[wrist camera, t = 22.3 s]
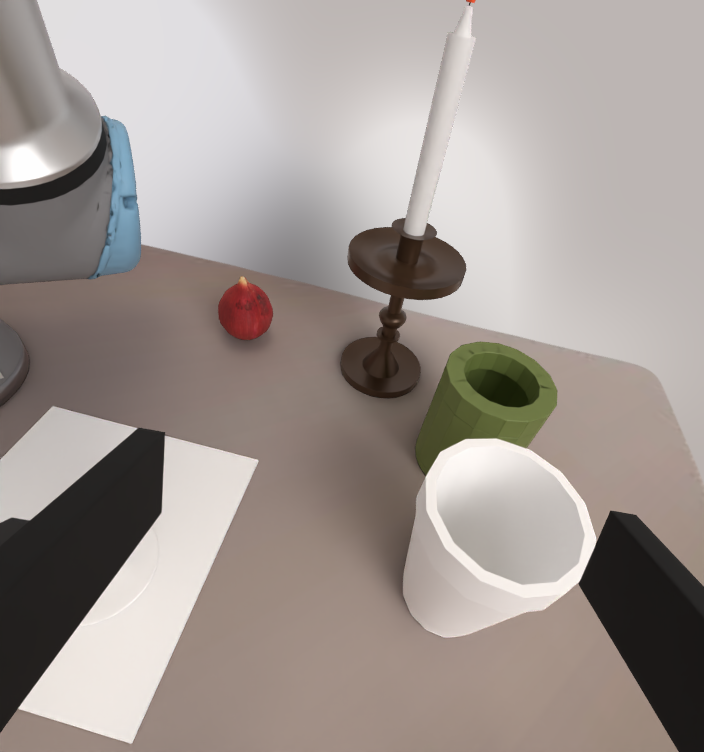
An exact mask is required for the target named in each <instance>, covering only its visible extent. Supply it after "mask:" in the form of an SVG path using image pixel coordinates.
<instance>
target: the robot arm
mask: <svg viewBox="0 0 704 752" xmlns="http://www.w3.org/2000/svg"><path fill="white" fill-rule="evenodd" d="M136 201H137V195H136V181H135V173H134V166H133V159H132V153H131V148H130V142H129V137H128V133H127V130H126V128H125V126H124V125H123V124H122V123H121V122H119V121H117V120H113V119H110V118H108V117H107V116H100V113H99V110H98V107H97V105H96V103H95V101H94V99H93V97H92V96H91V94H90V93H89V92H88V90H87V89H86V88H85V87H84V86H83V85H82V84H81V83H80V82H79V81H78V80H76V79H75V78H74V77H72V76H71V75H70V74H68V73H67V72H65V71H64V70H62V69H60V68H59V66H58V63H57V60H56V57H55V54H54V51H53V48H52V45H51V42H50V39H49V36H48V33H47V30H46V27H45V24H44V21H43V18H42V15H41V12H40V9H39V6H38V3H37V0H0V285H4V284H18V283H31V282H45V281H59V280H73V279H96V278H98V277H99V276H102V275H109V274H117V273H124V272H128V271H130V270H132V269H133V268H135V267H136V265H137V264H138V262H139V260H140V257H141V232H140V220H139V210H138V204H137V202H136ZM28 369H29V356H28V353H27V350H26V349H25V347H24V345H23V343H22V341H21V339H20V337H19V336H18V334H17V333H16V332H15V331H14V330H13V329H12V328H11V327H10V326H8V325H7V324H6V323H5V322H4V321H2V320H1V319H0V406H1V405H3V404H4V403H5V402H6V401H7V400H8V399H9V398H10V397H11V396H12V395H13V394H14V393H15V392H16V391H17V390H18V389H19V387H20V386H21V384H22V383H23V381H24V379H25V377H26V375H27V372H28ZM164 448H165V432H160V431H154V430H148V429H143V428H138V429H136V430H135V431H134V432H133V433H132V434H131V435H129V436H128V437H127V438H126V439H125V440H124V441H122V442H121V443H120V444H119V445H118V446H117V447H115V448H114V449H113V450H112V451H111V452H110V453H108V454H107V455H106V456H105V457H104V458H103V459H101V460H100V461H99V462H98V463H97V464H96V465H94V466H93V467H92V468H91V469H90V470H88V471H87V472H86V473H85V474H84V475H83V476H81V477H80V478H79V479H78V480H77V481H76V482H74V483H73V484H72V485H71V486H70V487H69V488H67V489H66V490H65V491H64V492H63V493H62V494H60V495H59V496H58V497H57V498H56V499H55V500H53V501H52V502H51V503H50V504H49V505H48V506H46V507H45V508H44V509H43V510H42V511H40V512H39V513H38V514H37V515H36V516H35V517H33V518H32V519H31V520H24V519H18V518H12V517H11V518H9V519H7V520H5V521H3V522H1V523H0V732H1V731H2V730H3V728H4V727H5V725H6V724H7V723H8V721H9V720H10V719H11V717H12V716H13V715H14V713H15V712H16V710H17V709H18V708H19V706H20V705H21V704H22V702H23V701H24V700H25V698H26V697H27V696H28V694H29V693H30V691H31V690H32V689H33V687H34V686H35V685H36V683H37V682H38V681H39V679H40V678H41V676H42V675H43V674H44V672H45V671H46V670H47V668H48V667H49V666H50V664H51V663H52V661H53V660H54V659H55V657H56V656H57V655H58V653H59V652H60V651H61V649H62V648H63V646H64V645H65V644H66V642H67V641H68V640H69V638H70V637H71V636H72V634H73V633H74V631H75V630H76V629H77V627H78V626H79V625H80V623H81V622H82V621H83V619H84V618H85V616H86V615H87V614H88V612H89V611H90V610H91V608H92V607H93V606H94V604H95V603H96V602H97V600H98V599H99V597H100V596H101V595H102V593H103V592H104V591H105V589H106V588H107V587H108V585H109V584H110V582H111V581H112V580H113V578H114V577H115V576H116V574H117V573H118V572H119V570H120V569H121V567H122V566H123V565H124V563H125V562H126V561H127V559H128V558H129V557H130V555H131V554H132V552H133V551H134V550H135V548H136V547H137V546H138V544H139V543H140V542H141V540H142V539H143V537H144V536H145V535H146V533H147V532H148V531H149V529H150V528H151V527H152V525H153V524H154V522H155V521H156V520H157V518H158V517H159V516H160V514H161V513H162V494H163V471H164ZM579 586H580V587H581V589H582V591H583V592H584V594H585V596H586V597H587V599H588V601H589V602H590V604H591V606H592V607H593V609H594V611H595V612H596V614H597V616H598V618H599V619H600V621H601V623H602V624H603V626H604V628H605V629H606V631H607V633H608V634H609V636H610V638H611V639H612V641H613V643H614V644H615V646H616V648H617V649H618V651H619V653H620V654H621V656H622V658H623V659H624V661H625V663H626V664H627V666H628V668H629V669H630V671H631V673H632V674H633V676H634V678H635V679H636V681H637V683H638V684H639V686H640V688H641V689H642V691H643V693H644V694H645V696H646V698H647V699H648V701H649V703H650V704H651V706H652V708H653V709H654V711H655V713H656V714H657V716H658V718H659V720H660V721H661V723H662V725H663V726H664V728H665V730H666V731H667V733H668V735H669V736H670V738H671V740H672V741H673V743H674V745H675V746H676V748H677V750H678V751H679V752H704V586H703V585H702V584H701V583H700V582H699V581H698V580H697V579H696V578H695V577H694V576H693V575H692V574H691V573H690V572H689V571H688V570H687V568H686V567H685V566H684V565H683V564H682V563H681V562H680V561H679V560H678V559H677V558H676V557H675V556H674V555H673V554H672V553H671V552H670V550H669V549H668V548H667V547H666V546H665V545H664V544H663V543H662V542H661V541H660V540H659V539H658V538H657V537H656V536H655V535H654V534H653V533H652V531H651V530H650V529H649V528H648V527H647V526H646V525H645V524H644V523H643V522H642V521H641V520H640V519H639V518H638V517H637V516H636V515H633V514H627V513H621V512H616V511H610V513H609V516H608V518H607V520H606V522H605V525H604V527H603V529H602V531H601V534H600V536H599V538H598V541H597V543H596V545H595V547H594V550H593V552H592V554H591V557H590V559H589V561H588V563H587V566H586V568H585V570H584V573H583V575H582V577H581V579H580V582H579Z"/></svg>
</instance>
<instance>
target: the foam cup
mask: <svg viewBox="0 0 704 752" xmlns="http://www.w3.org/2000/svg"><path fill="white" fill-rule="evenodd" d="M595 543H596V536H595V533H594V530H593V527H592V523H591V520H590V517H589V514H588V510H587V507H586V504H585V502H584V501H583V500H582V498H581V497H580V496H579V494H578V493H577V492H576V491H575V489H574V488H573V487H572V485H571V484H570V483H569V481H568V480H567V479H566V478H565V476H564V475H563V474H562V472H560V471H559V470H558V469H556V468H555V467H553V466H552V465H551V464H549V463H548V462H546V461H545V460H544V459H542V458H541V457H540V456H538V455H537V454H535V453H534V452H533V451H531V450H529V449H526V448H523V447H520V446H517V445H514V444H512V443H509V442H506V441H503V440H500V439H465V440H463V441H461V442H459V443H457V444H455V445H453V446H451V447H449V448H447V449H445V450H443V451H441V452H440V453H439V455H438V457H437V458H436V460H435V462H434V463H433V465H432V467H431V469H430V470H429V472H428V474H427V475H426V477H425V479H424V482H423V484H422V486H421V488H420V490H419V492H418V495H417V497H416V516H415V521H414V525H413V530H412V535H411V540H410V544H409V549H408V554H407V558H406V563H405V568H404V574H403V596H404V599H405V601H406V604H407V606H408V609H409V611H410V614H411V615H412V616H413V617H414V618H415V619H416V620H417V621H418V622H419V623H420V624H421V625H422V626H423V628H424V629H425V630H427V631H430V632H432V633H434V634H437V635H439V636H442V637H444V638H449V637H459V636H464V635H468V634H471V633H474V632H476V631H479V630H481V629H484V628H486V627H489V626H491V625H494V624H497V623H499V622H502V621H504V620H507V619H509V618H512V617H515V616H517V615H520V614H522V613H525V612H531V611H541V610H544V609H545V608H547V607H548V606H549V605H551V604H552V603H553V602H555V601H556V600H557V599H559V598H560V597H562V596H563V595H564V594H565V593H567V592H568V591H569V590H570V589H571V588H572V587H573V586H575V585H576V584H577V583H578V582H579V581H580V579H581V577H582V575H583V573H584V570H585V568H586V566H587V563H588V561H589V559H590V557H591V554H592V552H593V550H594V547H595Z"/></svg>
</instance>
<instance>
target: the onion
mask: <svg viewBox="0 0 704 752" xmlns="http://www.w3.org/2000/svg"><path fill="white" fill-rule="evenodd" d="M218 314H219V320H220V323H221V325H222V326H223V327H224V328H225V330H226V331H227V332H228V333H229V334H231V335H233V336H234V337H236V338H238V339H242V340H251V339H254V338H257V337H259V336H261V335H262V334H263V333H265V332H266V331H267V330H268V328H269V327H270V324H271V321H272V317H273V309H272V306H271V304H270V301H269V298H268V296H267V295H266V294H265V292H264V291H263V290H261V289H260V288H259V287H258V286H256V285H254V284H251V283H249V282H248V281H247V279H246V278H245V277H242V276H241V277H240V280H239V282H238V284H236V285H234V286H232V287H231V288H229V289H228V290H227V291H226V292H225V293H224V295H223V297H222V298H221V300H220V302H219V305H218Z"/></svg>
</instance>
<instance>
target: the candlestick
mask: <svg viewBox="0 0 704 752" xmlns="http://www.w3.org/2000/svg"><path fill="white" fill-rule="evenodd" d="M466 1H467V2H470V3H471V2H472V3H474V2H475V0H466ZM470 3H469V5H467V6H466V7H464V11H463V14H462V16H461V18H460V20H459V22H458V24H457V27H456V29H455V31H454V32H449V33H448V35H447V39H446V44H445V48H444V52H443V57H442V61H441V66H440V70H439V75H438V79H437V83H436V88H435V92H434V96H433V101H432V105H431V110H430V114H429V118H428V123H427V127H426V132H425V136H424V140H423V145H422V150H421V154H420V158H419V163H418V167H417V171H416V176H415V180H414V184H413V189H412V194H411V197H410V202H409V206H408V211H407V215H406V218H402V219H397V220H395V221H394V222H393V223H392V227H383V228H374V229H370V230H366V231H364V232H361V233H359V234H358V235H356V236H355V237H354V238H353V239H352V240H351V242H350V245H349V249H348V256H347V258H348V265H349V267H350V269H351V271H352V272H353V273H354V274H355V276H357V277H358V278H359V279H360V280H361V281H362V282H364V283H365V284H367V285H369V286H370V287H372V288H374V289H376V290H379V291H381V292H383V293H386V294H389V295H391V297H390V302H389V306H387V307H384V308H383V309H382V310H381V311H380V314H379V317H380V321H381V323H382V324H383V327H380V328H379V329H378V331H377V337H367V338H362V339H359V340H356V341H354V342H352V343H351V344H349V345H348V346H347V347H346V348H345V350H344V352H343V354H342V358H341V371H342V374H343V376H344V377H345V379H346V380H347V382H348V383H349V384H350V385H351V386H353V387H354V388H355V389H357V390H359V391H360V392H362V393H364V394H367V395H370V396H374V397H379V398H394V397H399V396H402V395H404V394H406V393H408V392H410V391H411V390H412V389H413V388H414V387H415V386H416V384H417V381H418V379H419V376H420V364H419V361H418V359H417V357H416V356H415V355H414V354H413V352H411V351H410V350H409V349H408V348H407V347H405V346H404V345H402V344H400V343H398V342H397V341H398V340H399V337H400V334H399V332H398V331H397V328H399V327H401V326H402V325H403V324H404V323H405V321H406V314H405V312H404V311H403V310H402V305H403V301H404V298H406V299H415V300H431V299H437V298H442V297H445V296H448V295H450V294H452V293H453V292H455V291H457V289H458V288H459V287H460V286H461V283H462V281H463V278H464V275H465V272H466V263H465V261H464V259H463V257H462V256H461V255H460V254H459V252H458V251H457V250H455V249H454V248H453V247H452V246H450V245H449V244H447V243H446V242H444V241H442V240H440V239H438V238H436V237H435V236H436V235H437V231H436V229H435V228H434V227H433V226H431V225H430V224H428V223H427V221H428V217H429V213H430V210H431V206H432V202H433V198H434V194H435V191H436V187H437V183H438V180H439V176H440V172H441V168H442V164H443V161H444V157H445V153H446V149H447V146H448V142H449V138H450V134H451V130H452V127H453V123H454V119H455V116H456V112H457V108H458V104H459V100H460V96H461V93H462V89H463V85H464V82H465V78H466V74H467V70H468V66H469V63H470V59H471V55H472V51H473V48H474V43H475V40H476V37H473V36H471V21H472V12H473V8H472V6H470Z"/></svg>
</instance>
